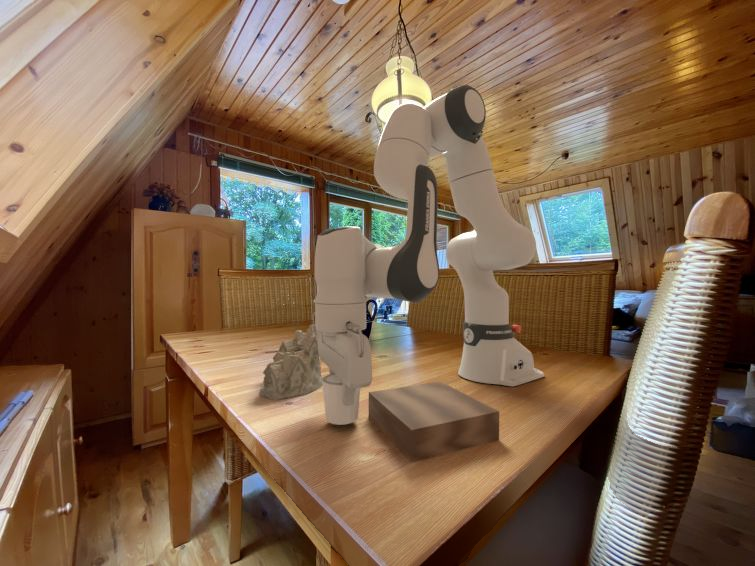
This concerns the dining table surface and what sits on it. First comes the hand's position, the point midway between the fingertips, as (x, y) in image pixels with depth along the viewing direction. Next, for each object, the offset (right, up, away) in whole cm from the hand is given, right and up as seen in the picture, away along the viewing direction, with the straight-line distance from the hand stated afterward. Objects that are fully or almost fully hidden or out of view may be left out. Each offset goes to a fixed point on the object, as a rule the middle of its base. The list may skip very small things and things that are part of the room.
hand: (342, 397), depth 55 cm
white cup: (0, -4, 0) cm, 4 cm away
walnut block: (+15, -5, -1) cm, 16 cm away
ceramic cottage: (-15, -5, +21) cm, 26 cm away
